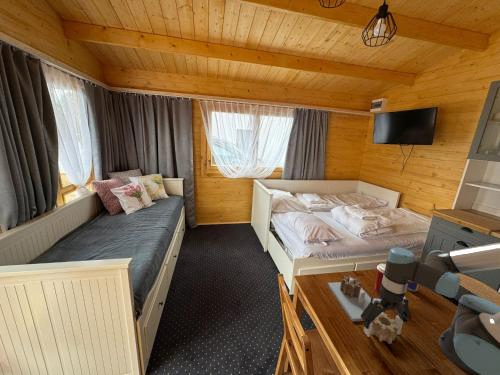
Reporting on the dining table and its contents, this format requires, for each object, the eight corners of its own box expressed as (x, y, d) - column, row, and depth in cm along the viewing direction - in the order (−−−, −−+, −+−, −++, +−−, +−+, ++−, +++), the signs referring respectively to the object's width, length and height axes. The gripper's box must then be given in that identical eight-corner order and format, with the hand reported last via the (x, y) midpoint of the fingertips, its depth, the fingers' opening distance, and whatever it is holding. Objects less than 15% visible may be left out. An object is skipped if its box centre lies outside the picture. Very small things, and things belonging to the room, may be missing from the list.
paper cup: (393, 297, 103) (399, 273, 99) (377, 296, 103) (383, 272, 100) (383, 286, 110) (389, 263, 107) (369, 285, 111) (374, 262, 107)
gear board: (386, 319, 90) (390, 302, 88) (352, 321, 88) (355, 305, 86) (355, 283, 111) (358, 270, 109) (327, 285, 109) (329, 271, 107)
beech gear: (400, 342, 80) (403, 330, 78) (379, 344, 79) (382, 332, 77) (383, 322, 88) (386, 311, 87) (364, 324, 87) (367, 312, 86)
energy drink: (401, 286, 111) (407, 266, 108) (407, 283, 113) (413, 264, 110) (412, 293, 106) (418, 272, 104) (418, 290, 109) (424, 270, 106)
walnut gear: (363, 294, 102) (365, 283, 100) (351, 300, 97) (354, 289, 96) (347, 283, 109) (349, 273, 108) (336, 288, 105) (338, 278, 103)
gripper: (413, 279, 83) (401, 322, 89) (356, 281, 80) (347, 326, 86) (431, 293, 76) (416, 339, 81) (369, 296, 73) (359, 344, 78)
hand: (381, 332), depth 83 cm, fingers open, 12 cm apart
